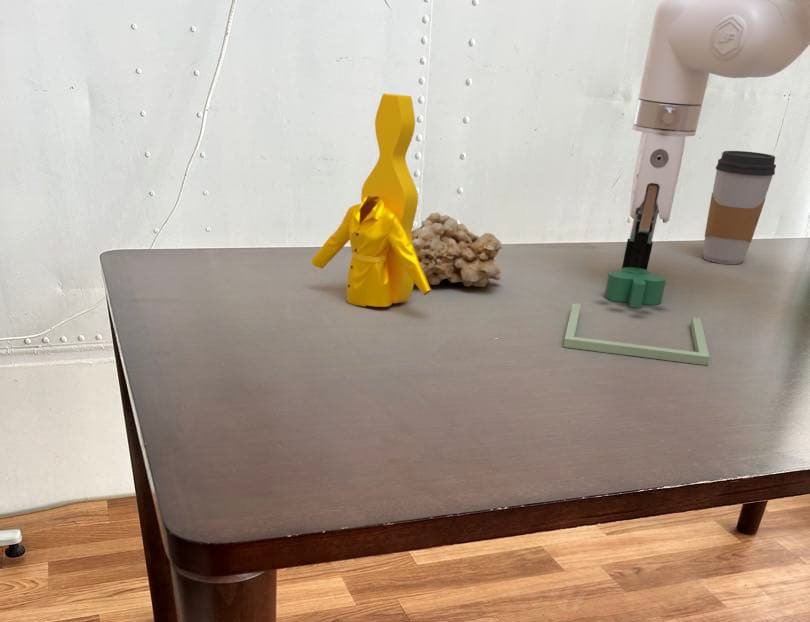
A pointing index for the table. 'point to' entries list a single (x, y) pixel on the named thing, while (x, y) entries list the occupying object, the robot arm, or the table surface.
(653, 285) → the club
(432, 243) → the mineral formation
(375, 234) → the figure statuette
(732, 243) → the coffee cup
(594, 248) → the table surface
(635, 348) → the pocket
